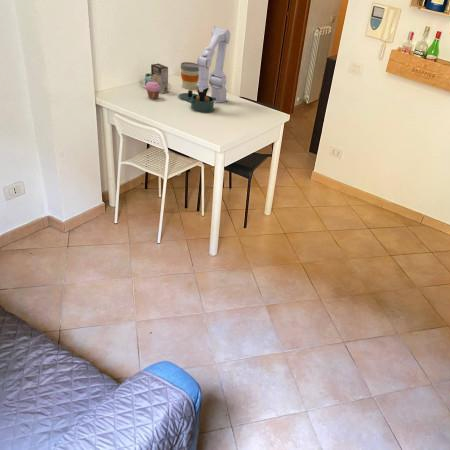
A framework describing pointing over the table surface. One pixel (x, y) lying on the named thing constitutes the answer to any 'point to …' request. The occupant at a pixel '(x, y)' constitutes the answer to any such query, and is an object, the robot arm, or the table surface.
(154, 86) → the cupcake
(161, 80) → the coffee box
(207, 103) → the pot
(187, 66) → the reusable coffee cup
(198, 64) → the robot arm
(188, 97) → the pot lid
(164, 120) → the table surface
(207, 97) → the brown cylinder
